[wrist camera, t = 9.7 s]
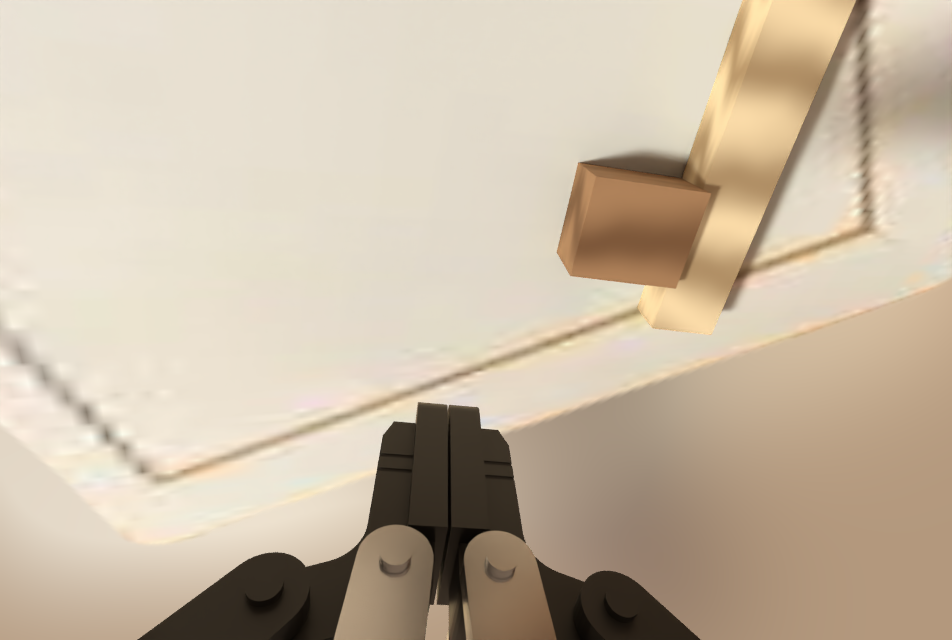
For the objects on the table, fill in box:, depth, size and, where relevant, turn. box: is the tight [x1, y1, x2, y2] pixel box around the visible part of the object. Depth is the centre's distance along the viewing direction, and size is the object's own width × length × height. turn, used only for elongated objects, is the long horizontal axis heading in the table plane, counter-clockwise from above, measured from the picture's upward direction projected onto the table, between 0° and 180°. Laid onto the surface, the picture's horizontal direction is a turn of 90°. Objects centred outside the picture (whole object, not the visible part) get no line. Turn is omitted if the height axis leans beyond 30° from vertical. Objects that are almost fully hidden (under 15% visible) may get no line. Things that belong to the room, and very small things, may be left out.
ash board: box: [637, 0, 856, 335], centre depth 35 cm, size 24×5×4 cm, turn 171°
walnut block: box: [557, 163, 712, 289], centre depth 36 cm, size 7×8×5 cm
